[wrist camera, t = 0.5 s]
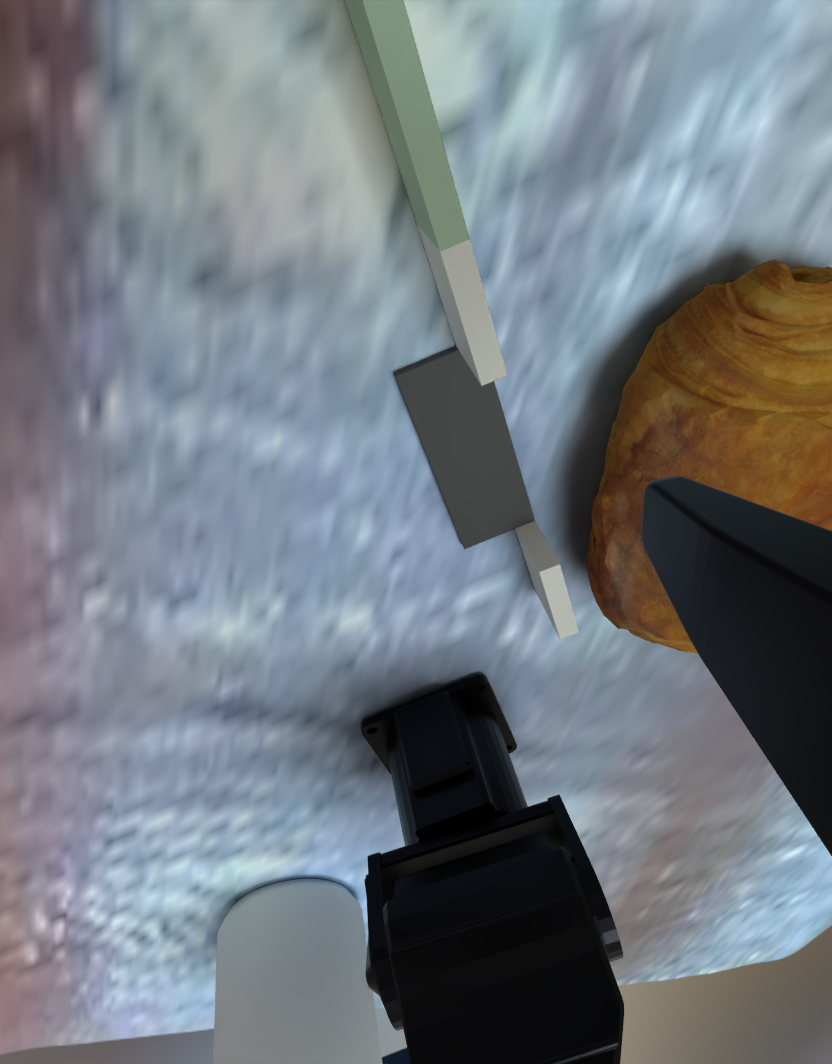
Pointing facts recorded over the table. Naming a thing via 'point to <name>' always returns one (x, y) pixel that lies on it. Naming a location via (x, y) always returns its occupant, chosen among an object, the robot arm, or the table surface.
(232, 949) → the white bottle
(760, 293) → the croissant
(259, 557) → the table surface
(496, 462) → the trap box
